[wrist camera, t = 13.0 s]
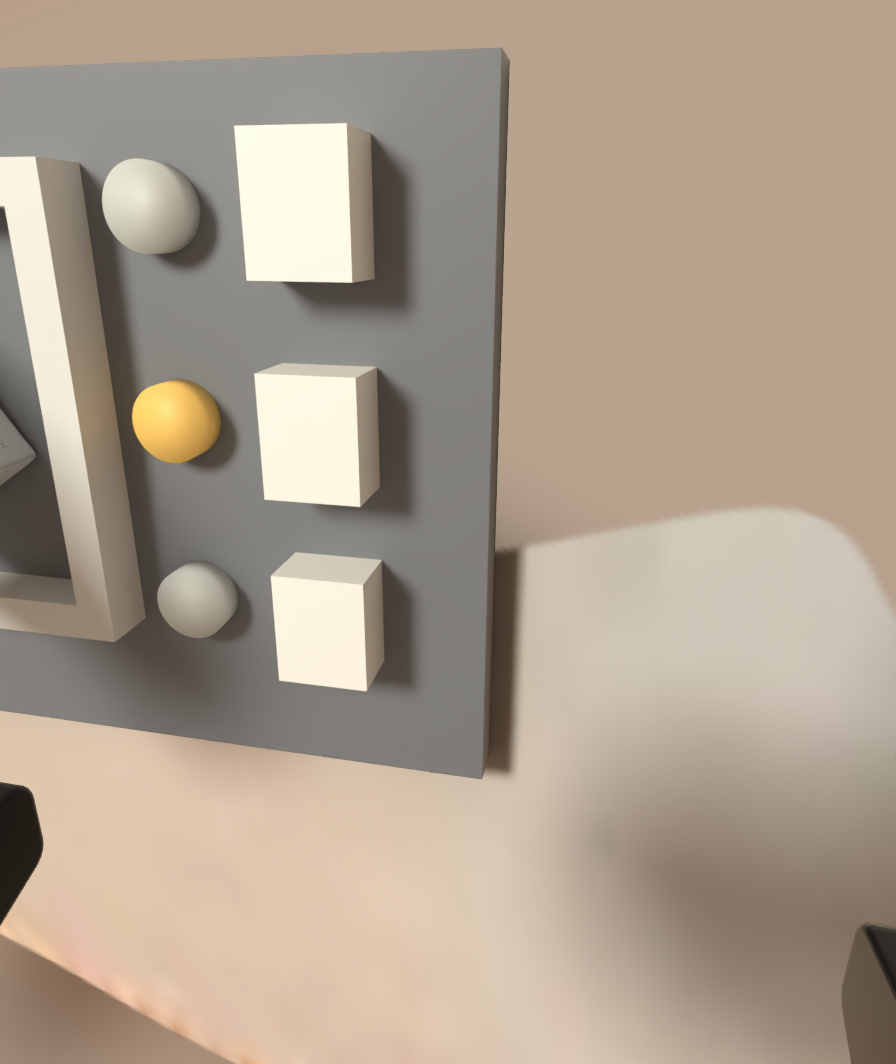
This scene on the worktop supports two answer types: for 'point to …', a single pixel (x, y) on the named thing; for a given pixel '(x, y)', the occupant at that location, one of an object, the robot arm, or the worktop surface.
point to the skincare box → (12, 450)
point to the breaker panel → (246, 340)
